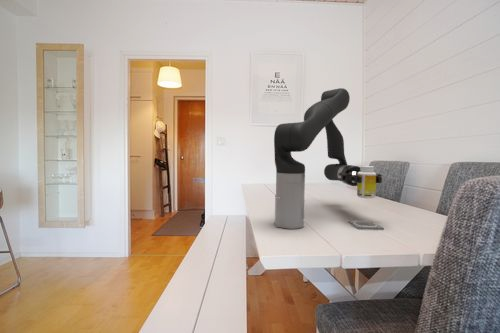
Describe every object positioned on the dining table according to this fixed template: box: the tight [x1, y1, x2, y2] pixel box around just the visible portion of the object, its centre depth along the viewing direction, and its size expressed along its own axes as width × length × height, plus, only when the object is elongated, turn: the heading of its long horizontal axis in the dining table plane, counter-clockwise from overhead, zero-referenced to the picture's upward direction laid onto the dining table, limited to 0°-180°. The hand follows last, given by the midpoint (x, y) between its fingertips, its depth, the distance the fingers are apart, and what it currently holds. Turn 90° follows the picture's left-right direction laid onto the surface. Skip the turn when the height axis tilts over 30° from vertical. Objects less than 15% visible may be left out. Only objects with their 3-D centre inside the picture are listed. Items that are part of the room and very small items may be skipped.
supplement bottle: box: [356, 165, 377, 199], centre depth 82 cm, size 6×6×10 cm
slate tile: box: [347, 220, 384, 231], centre depth 83 cm, size 8×8×1 cm
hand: (370, 179), depth 80 cm, fingers closed on supplement bottle, 5 cm apart
